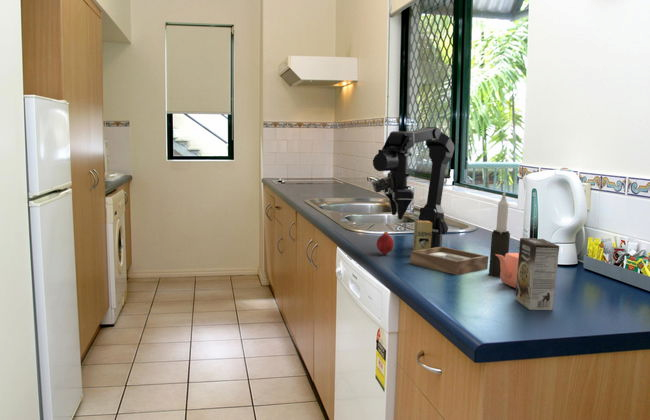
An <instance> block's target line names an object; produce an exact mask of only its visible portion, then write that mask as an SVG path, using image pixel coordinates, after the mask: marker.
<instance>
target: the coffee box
mask: <svg viewBox="0 0 650 420" xmlns="http://www.w3.org/2000/svg"><path fill="white" fill-rule="evenodd" d="M518 249H519V250H518V253H519V260H518V272H517V284H516V288H515V298H514V299H515V301H516V302H518V303H520V304H521V306H524V307H525V308H526V309H528V311H529V310H530V311H554V303H555V302H554V301H555V294H556V293H555V291H556V283H557V273H558V263H559V252H560V245H558V244H555V243H554V242H551V241H549V240H546V239H544V238H532V237H531V238H530V237H521V238H519V248H518Z"/></svg>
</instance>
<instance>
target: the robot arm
mask: <svg viewBox="0 0 650 420" xmlns="http://www.w3.org/2000/svg"><path fill="white" fill-rule="evenodd" d="M421 142H425V146H426V147H427V148H428V157H429V159H430V161H431V170H430V178H429V185H428V192H427V199H426V203H425V205H424V206H423V207H420V209H419V215H418V220H421V221H430V222H432V238H431V248H436V247H443V246H442V245H443V244H442V243H443V235H447V234H448V231H449V227H448V225H447V222H446V221H445V212H444V209H443V208H442V200H443V199H442V198H443V191H444V185H445V178H446V177H445V176H446V170H447V165H448V164H449V162H450V161H451V160H452V159H453V154H454V151H455V144H454V142H453V141H452V139H451V138H450V137H449V136H448V135H447V134H445V133H444V132H442V130H441V128H439V127H437V126H427V127H424V128H419V129H415V130H411V131H398V130H396V131H395V130H393V131H391V132H389V134H388V136H387V138H386V140H385V142H384V144H383V147H382V149H378V152H377V154H376V155H374V157H373V159H372V166H373V168H374V169H375V170H376V171H377V172H388V173H387V176H386V177H383V178H380V179H379V178H378V179H377V180H375V181H371V184H372V187H373V191H374V192H375V193H377V194H378V193H381V192H383V195H385V197H386V198H387V199H388V200H389V206H390V211H391V215H392V216H396V214H397V219H398V220H402V219H403V217H404V215H405V214H406V211H407V210H408V208H409V206H410V204H411V202H412V201H413V199H415V198H414V192H413V190H412V189H410V188H409V186H408V178H409V177H410V174H409V173H408V167H409V166H408V165H409V157H412V155H413V154H412V153H411V151H409V150H410V149H411V148H413V147H414V146H415V144H418V143H421Z"/></svg>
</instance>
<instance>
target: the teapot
mask: <svg viewBox="0 0 650 420" xmlns="http://www.w3.org/2000/svg"><path fill="white" fill-rule="evenodd" d="M496 256H497V257H498V258H499V259H500V269H501V273H500V277H499V278H500V281H501V282H502V283H503V284H505V285H507V286H510V287H511V288H514V289H516V284H517V272H518V260H519V252H509V253H506V255H505V257H504V256H502V255H496Z"/></svg>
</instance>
